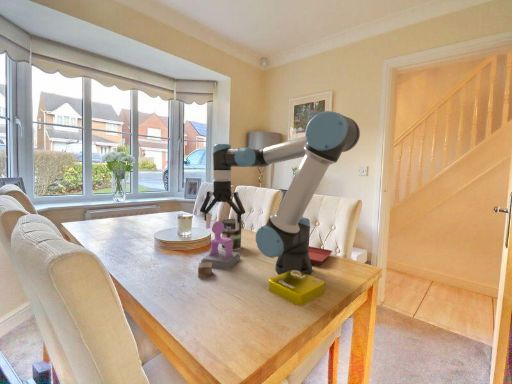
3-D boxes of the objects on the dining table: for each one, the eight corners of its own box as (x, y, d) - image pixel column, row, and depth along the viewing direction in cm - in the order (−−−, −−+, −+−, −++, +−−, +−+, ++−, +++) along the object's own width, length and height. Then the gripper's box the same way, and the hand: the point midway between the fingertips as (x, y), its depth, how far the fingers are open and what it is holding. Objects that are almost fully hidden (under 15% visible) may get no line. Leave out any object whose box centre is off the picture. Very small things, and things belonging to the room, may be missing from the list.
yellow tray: (266, 290, 95) (266, 277, 94) (293, 279, 105) (293, 267, 104) (300, 308, 84) (300, 293, 83) (326, 293, 94) (327, 280, 93)
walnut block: (211, 271, 109) (211, 262, 108) (211, 277, 104) (211, 267, 103) (199, 272, 108) (199, 262, 108) (198, 277, 103) (198, 267, 103)
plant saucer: (298, 249, 140) (298, 243, 140) (332, 256, 131) (333, 250, 131) (283, 260, 125) (283, 253, 124) (321, 268, 116) (322, 261, 115)
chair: (223, 260, 113) (224, 225, 111) (207, 256, 117) (207, 222, 116) (234, 254, 120) (235, 222, 119) (218, 251, 125) (219, 219, 123)
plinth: (239, 258, 124) (239, 252, 123) (229, 269, 111) (229, 262, 111) (213, 255, 127) (213, 249, 127) (201, 265, 115) (201, 258, 114)
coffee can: (237, 251, 134) (238, 223, 132) (218, 249, 136) (218, 222, 135) (243, 245, 144) (244, 219, 142) (225, 243, 146) (225, 218, 145)
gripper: (252, 180, 116) (252, 228, 117) (199, 179, 122) (200, 225, 124) (247, 181, 108) (247, 232, 110) (191, 180, 115) (192, 229, 117)
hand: (222, 229), depth 117 cm, fingers open, 13 cm apart
